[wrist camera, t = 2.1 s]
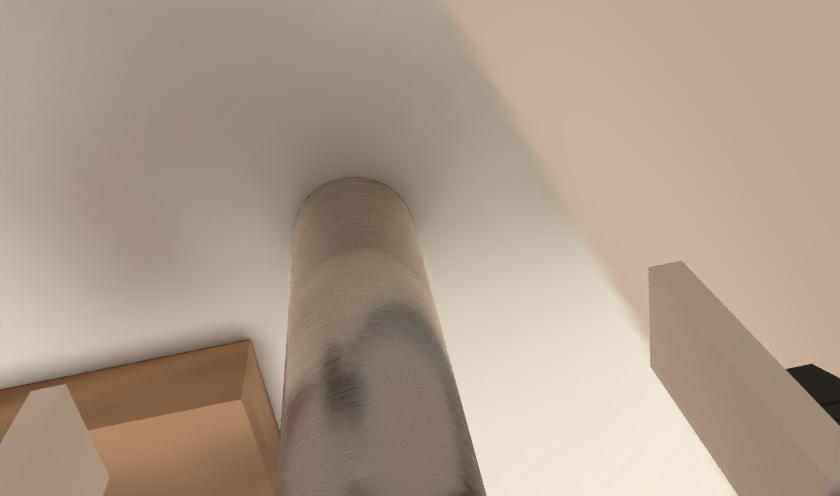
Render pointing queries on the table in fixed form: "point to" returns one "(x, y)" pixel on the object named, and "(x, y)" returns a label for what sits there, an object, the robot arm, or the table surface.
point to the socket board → (176, 423)
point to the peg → (367, 358)
